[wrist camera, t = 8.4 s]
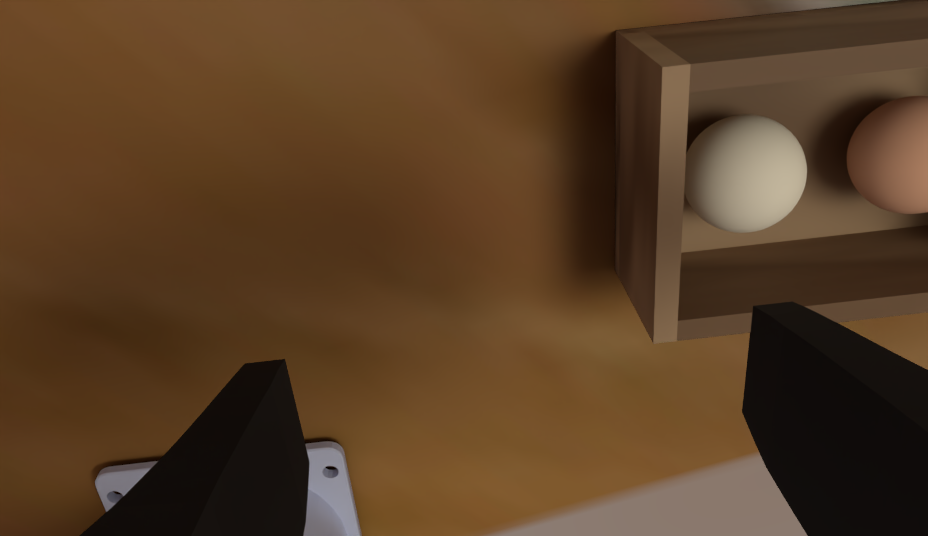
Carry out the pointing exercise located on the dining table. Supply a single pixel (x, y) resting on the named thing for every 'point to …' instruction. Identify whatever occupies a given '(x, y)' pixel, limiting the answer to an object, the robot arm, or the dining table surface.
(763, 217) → the ball
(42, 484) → the dining table surface
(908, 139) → the ball
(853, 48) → the box
